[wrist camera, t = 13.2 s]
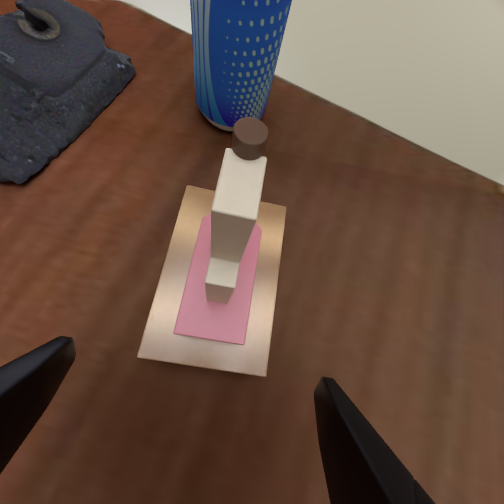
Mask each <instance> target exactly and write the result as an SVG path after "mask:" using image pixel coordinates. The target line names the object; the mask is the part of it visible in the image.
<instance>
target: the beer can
mask: <svg viewBox="0 0 504 504" xmlns="http://www.w3.org/2000/svg"><path fill="white" fill-rule="evenodd" d="M291 1H292V0H190V5H191V23H192V41H193V59H194V77H195V94H196V102H197V105H198V108H199V109H200V111H201V112H202V113H203V115H204V116H205V117H206V118H207V119H208V121H209V122H211V123H212V124H213V125H214V126H216V127H218V128H220V129H223V130H227V131H233V127H234V125H235V123H236V122H237V121H238V120H239V119H241V118H245V117H252V118H256V119H258V120H260V119H261V118H262V116H263V114H264V112H265V109H266V105H267V101H268V97H269V92H270V88H271V84H272V80H273V76H274V71H275V68H276V63H277V59H278V55H279V51H280V47H281V43H282V39H283V34H284V30H285V27H286V23H287V18H288V14H289V10H290V6H291Z"/></svg>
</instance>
